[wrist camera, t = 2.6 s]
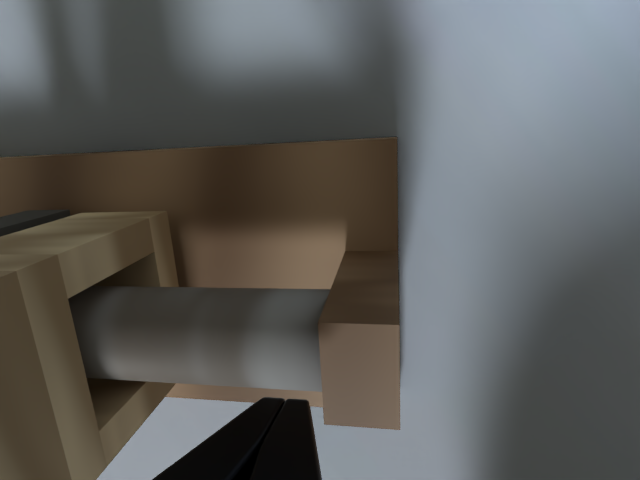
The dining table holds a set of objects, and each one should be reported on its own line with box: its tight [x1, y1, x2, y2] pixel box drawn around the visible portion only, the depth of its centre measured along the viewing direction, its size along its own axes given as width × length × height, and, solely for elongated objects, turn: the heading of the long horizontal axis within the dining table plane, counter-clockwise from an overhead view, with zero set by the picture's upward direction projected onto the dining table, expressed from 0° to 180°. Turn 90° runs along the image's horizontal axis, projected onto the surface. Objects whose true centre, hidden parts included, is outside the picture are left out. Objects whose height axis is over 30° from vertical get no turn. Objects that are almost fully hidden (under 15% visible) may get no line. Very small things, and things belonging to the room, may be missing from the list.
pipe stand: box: [0, 137, 400, 430], centre depth 13 cm, size 23×9×6 cm, turn 93°
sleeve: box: [0, 211, 179, 480], centre depth 10 cm, size 3×5×8 cm, turn 3°
